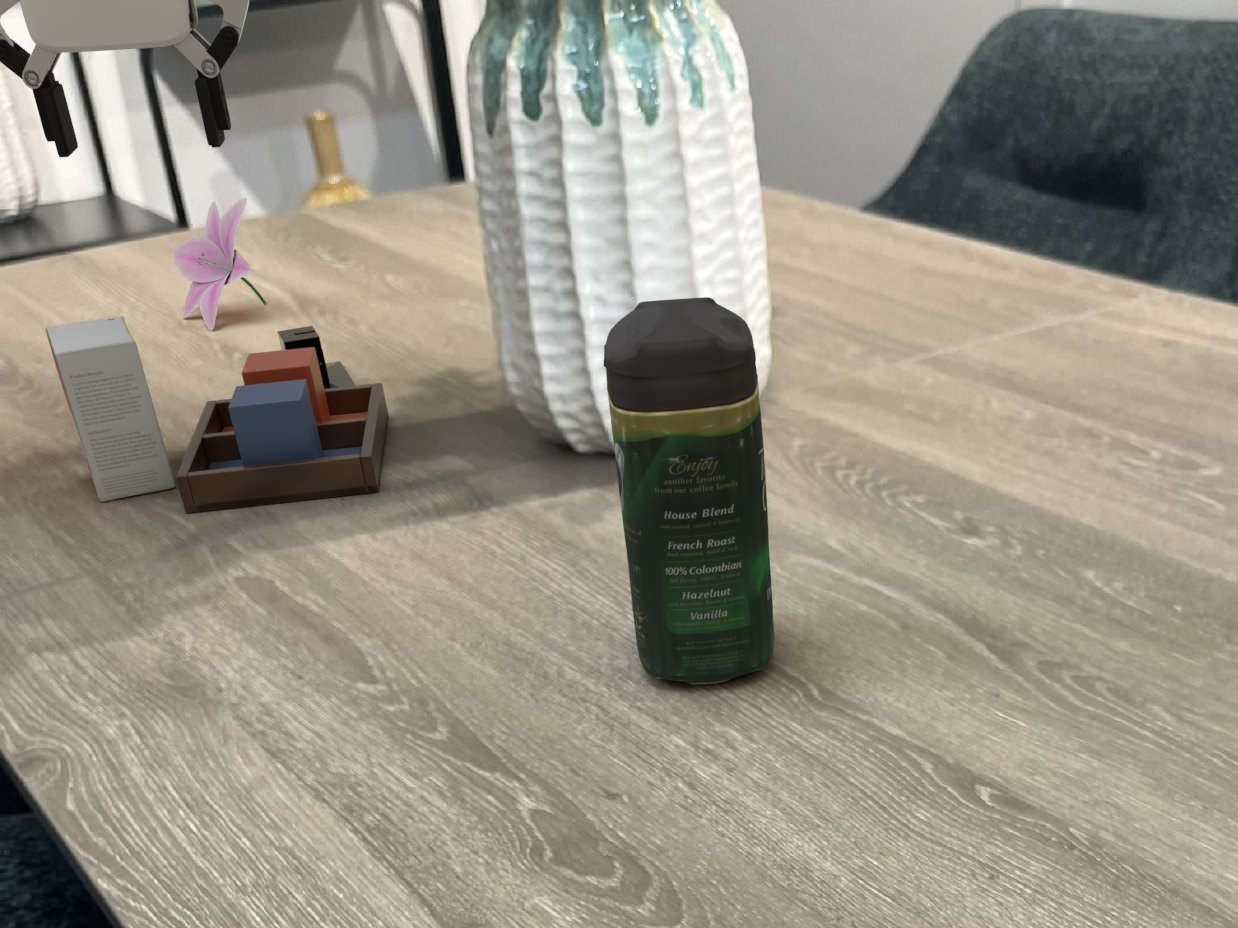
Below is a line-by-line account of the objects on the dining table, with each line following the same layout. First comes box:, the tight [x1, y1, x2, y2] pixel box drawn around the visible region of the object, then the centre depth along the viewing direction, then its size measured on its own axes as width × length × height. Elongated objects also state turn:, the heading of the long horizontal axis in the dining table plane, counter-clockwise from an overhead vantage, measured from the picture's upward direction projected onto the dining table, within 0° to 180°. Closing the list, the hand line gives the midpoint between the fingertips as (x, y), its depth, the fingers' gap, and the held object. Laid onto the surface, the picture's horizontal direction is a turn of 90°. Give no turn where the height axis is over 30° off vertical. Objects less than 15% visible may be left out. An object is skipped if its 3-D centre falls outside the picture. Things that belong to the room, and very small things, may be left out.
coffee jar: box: [603, 296, 775, 685], centre depth 92 cm, size 10×8×19 cm
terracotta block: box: [241, 347, 331, 422], centre depth 130 cm, size 5×5×6 cm
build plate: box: [277, 325, 356, 389], centre depth 141 cm, size 12×7×5 cm, turn 21°
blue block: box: [228, 379, 323, 466], centre depth 123 cm, size 5×5×6 cm
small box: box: [44, 315, 176, 503], centre depth 124 cm, size 8×6×10 cm
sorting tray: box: [175, 382, 389, 514], centre depth 128 cm, size 14×18×3 cm
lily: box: [171, 197, 268, 332], centre depth 162 cm, size 12×12×10 cm
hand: (143, 148), depth 114 cm, fingers open, 9 cm apart
